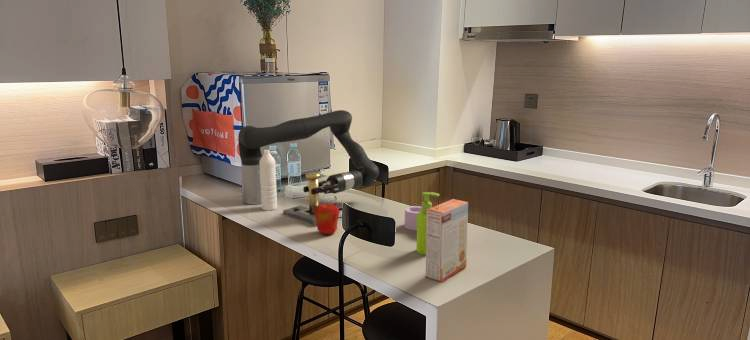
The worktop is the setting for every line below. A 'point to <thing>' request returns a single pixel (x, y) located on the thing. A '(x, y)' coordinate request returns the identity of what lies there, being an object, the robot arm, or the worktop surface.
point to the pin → (312, 184)
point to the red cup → (327, 218)
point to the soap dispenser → (423, 222)
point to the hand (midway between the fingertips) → (308, 190)
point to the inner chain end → (293, 213)
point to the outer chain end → (307, 215)
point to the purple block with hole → (411, 217)
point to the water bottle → (268, 181)
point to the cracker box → (446, 239)
